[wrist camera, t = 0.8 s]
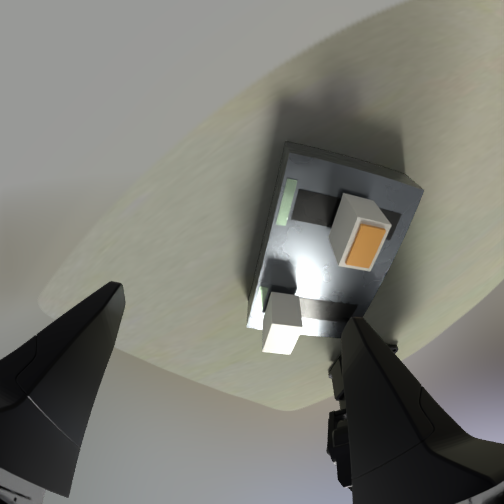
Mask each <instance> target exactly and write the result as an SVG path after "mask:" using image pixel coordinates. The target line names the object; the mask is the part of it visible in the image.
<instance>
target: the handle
mask: <svg viewBox="0 0 504 504" xmlns="http://www.w3.org/2000/svg"><path fill="white" fill-rule="evenodd" d="M302 328H303V324H302V315H301V307H300V299H299V296H298V295H291V294H284V293H277V292H271V294H270V298H269V301H268V304H267V308H266V311H265V314H264V318H263V330H262V352H269V353H278V354H287V355H290V354H291V352H292V350H293V348H294V346H295V344H296V341H297V339H298V337H299V335H300V333H301V331H302Z"/></svg>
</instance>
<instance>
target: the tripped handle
mask: <svg viewBox="0 0 504 504" xmlns="http://www.w3.org/2000/svg"><path fill="white" fill-rule="evenodd" d="M390 228H391V223H390V222H389V221H388V219H387V218H386V217H385V215H384V214H383V213H382V211H381V210H380V209H379V207H378V206H377V205H376V203H375V202H374V201H373V200H369V199H365V198H361V197H358V196H354V195H350V194H345V193H343V195H342V198H341V201H340V204H339V207H338V210H337V213H336V216H335V219H334V222H333V225H332V228H331V231H330V233H329V236H328V238H329V240H330V243H331V246H332V249H333V252H334V255H335V258H336V261H337V264H338V266H341V267H347V268H353V269H359V270H365V271H371V269H372V267H373V265H374V263H375V261H376V259H377V257H378V254H379V252H380V250H381V248H382V246H383V243H384V241H385V239H386V237H387V234H388V232H389V230H390Z"/></svg>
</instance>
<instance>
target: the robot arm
mask: <svg viewBox="0 0 504 504" xmlns="http://www.w3.org/2000/svg"><path fill="white" fill-rule="evenodd" d="M124 309H125V296H124V290H123V285H122V284H121V283H118V282H113V281H111V282H109V283H107V284H106V285H104V286H103V287H101V288H100V289H98V290H97V291H96V292H94V293H93V294H91V295H90V296H88V297H87V298H86V299H84V300H83V301H81V302H80V303H78V304H77V305H76V306H74V307H73V308H72V309H70V310H69V311H67V312H66V313H65V314H63V315H62V316H60V317H59V318H58V319H56V320H55V321H54V322H52V323H51V324H50V325H48V326H47V327H46V328H44V329H43V330H42V331H40V332H39V333H38V334H37V336H36V335H35V336H34V337H32V338H31V339H30V340H28V341H27V342H26V343H24V344H23V345H22V346H21V347H19V348H18V349H16V350H15V351H13V352H12V353H10V354H9V355H7V356H6V357H4V358H3V359H1V360H0V504H42V503H43V498H44V494H45V490H48V491H51V492H53V493H56V494H59V495H61V496H64V497H67V498H68V497H69V494H70V489H71V485H72V480H73V476H74V472H75V468H76V463H77V459H78V456H79V452H80V447H81V444H82V440H83V437H84V433H85V430H86V427H87V423H88V420H89V417H90V414H91V410H92V407H93V404H94V401H95V398H96V395H97V392H98V389H99V386H100V383H101V381H102V378H103V375H104V372H105V369H106V367H107V364H108V361H109V358H110V356H111V353H112V351H113V348H114V345H115V341H116V338H117V334H118V330H119V326H120V323H121V319H122V315H123V312H124ZM341 347H342V355H341V356H340V358H339V359H338V360H337V362H336V363H335V365H334V366H333V368H332V369H331V371H330V372H329V374H328V375H329V378H331V379H332V383H333V389H334V396H335V399H336V400H337V401H339V404H340V410H338V411H332V412H330V413H329V419H328V442H327V443H328V444H327V453H328V454H329V455H330V456H331V459H332V461H333V463H334V464H335V465H337V475H338V480H339V482H340V483H341V485H342V486H343V487H344V488H346V487H348V488H349V489H350V490H351V491H352V495H353V504H504V444H501V443H496V442H491V441H486V440H482V439H478V438H475V437H472V436H471V435H469V434H468V433H466V432H465V431H464V430H463V429H462V428H461V427H460V426H459V425H458V424H457V423H456V422H455V421H454V420H453V419H452V418H451V417H450V416H449V415H448V414H447V413H446V412H445V411H444V410H443V409H442V408H441V407H440V405H438V403H437V402H436V401H435V400H434V399H433V398H432V397H431V395H430V394H429V393H428V392H427V391H426V390H425V389H424V387H422V386H421V384H420V383H419V381H418V380H417V379H416V378H415V377H414V376H413V374H412V373H411V372H410V371H409V370H408V369H407V367H406V366H405V365H404V364H403V363H402V362H401V360H400V359H399V358H398V357H397V356H396V355H395V353H396V352H397V351H398V347H397V345H387V344H386V343H385V342H384V341H383V340H382V339H381V338H380V336H379V335H378V334H377V333H376V332H375V331H374V330H373V329H372V328H371V326H370V325H369V324H368V323H367V322H366V321H365V320H364V319H363V318H361V317H351V318H350V319H349V321H348V323H347V325H346V326H345V328H344V330H343V332H342V335H341Z"/></svg>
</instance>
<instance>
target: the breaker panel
mask: <svg viewBox="0 0 504 504" xmlns="http://www.w3.org/2000/svg"><path fill="white" fill-rule="evenodd" d="M423 192H424V190H423V189H422V188H421V187H420V186H419V185H418V184H416V183H415V182H414V181H413V180H412V179H411V178H409V177H408V176H407V175H406V174H403V173H400V172H397V171H394V170H391V169H388V168H385V167H382V166H379V165H376V164H372V163H369V162H366V161H362V160H359V159H355V158H352V157H348V156H345V155H341V154H337V153H333V152H329V151H326V150H322V149H317V148H313V147H309V146H305V145H300V144H296V143H291V142H287V141H286V142H285V146H284V151H283V155H282V159H281V164H280V168H279V173H278V177H277V181H276V186H275V190H274V194H273V199H272V203H271V207H270V212H269V216H268V220H267V224H266V229H265V233H264V237H263V242H262V246H261V250H260V254H259V259H258V263H257V267H256V271H255V275H254V280H253V284H252V288H251V292H250V296H249V301H248V313H247V327H248V328H255V329H262V330H263V318H264V314H265V311H266V308H267V304H268V301H269V298H270V294H271V292H277V293H284V294H291V295H298V296H299V299H300V307H301V315H302V324H303V328H302V331H301V333H300V334H303V335H313V336H323V337H334V338H341V335H342V332H343V330H344V328H345V326H346V325H347V323H348V321H349V319H350V318H351V317H361V318H362V317H363V315H364V314H365V312H366V310H367V309H368V307H369V305H370V303H371V301H372V300H373V298H374V296H375V294H376V292H377V291H378V289H379V287H380V285H381V283H382V281H383V279H384V277H385V276H386V274H387V272H388V270H389V268H390V266H391V264H392V262H393V260H394V258H395V256H396V254H397V252H398V249H399V247H400V245H401V243H402V241H403V239H404V237H405V235H406V232H407V230H408V228H409V226H410V223H411V221H412V219H413V217H414V214H415V212H416V209H417V207H418V205H419V202H420V200H421V197H422V195H423ZM343 193H345V194H350V195H354V196H358V197H361V198H365V199H369V200H373V201H374V202H375V203H376V205H377V206H378V207H379V209H380V210H381V211H382V213H383V214H384V215H385V217H386V218H387V219H388V221H389V222H390V223H391V228H390V230H389V232H388V234H387V237H386V239H385V241H384V243H383V246H382V248H381V250H380V252H379V254H378V257H377V259H376V261H375V263H374V265H373V267H372V269H371V271H365V270H359V269H353V268H347V267H341V266H338V264H337V261H336V258H335V255H334V252H333V249H332V246H331V243H330V240H329V238H328V236H329V233H330V231H331V228H332V225H333V222H334V219H335V216H336V213H337V210H338V207H339V204H340V201H341V198H342V195H343Z"/></svg>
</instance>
